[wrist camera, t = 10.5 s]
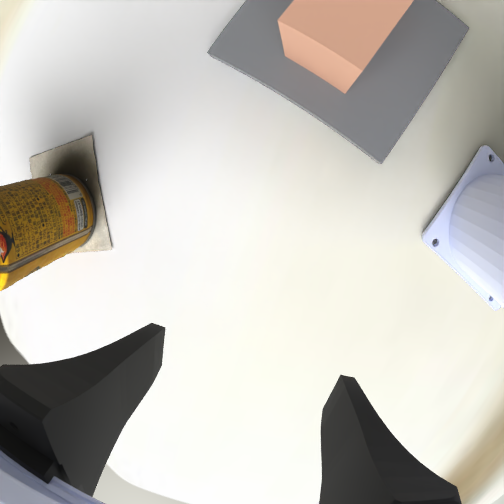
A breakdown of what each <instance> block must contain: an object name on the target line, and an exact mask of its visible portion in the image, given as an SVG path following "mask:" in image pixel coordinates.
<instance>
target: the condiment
mask: <svg viewBox="0 0 504 504" xmlns="http://www.w3.org/2000/svg"><path fill="white" fill-rule="evenodd" d="M30 169H31V173H32V179H30V180H25V181H21V182H16V183H12V184H8V185H4V186H0V291H2V290H4V289H6V288H8V287H9V286H11V285H13V284H14V283H15V282H17V281H19V280H21V279H22V278H24V277H26V276H28V275H29V274H31V273H33V272H35V271H36V270H38V269H41V268H42V267H44V266H46V265H48V264H50V263H52V262H53V261H55V260H57V259H59V258H61V257H64V256H65V255H66V254H69V253H79V252H90V251H104V250H112V247H111V243H110V237H109V232H108V226H107V222H106V216H105V210H104V206H103V200H102V196H101V190H100V187H99V183H98V173H97V166H96V159H95V154H94V150H93V140H92V135H90V136H87V137H84V138H82V139H79V140H76V141H73V142H70V143H68V144H65V145H62V146H59V147H57V148H55V149H51V150H49V151H46V152H43V153H41V154H39V155H36V156H33V157H31V158H30ZM50 174H51V175H50ZM49 175H50V176H49ZM86 179H87V181H86Z"/></svg>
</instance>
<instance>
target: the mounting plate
mask: <svg viewBox="0 0 504 504" xmlns="http://www.w3.org/2000/svg"><path fill="white" fill-rule="evenodd" d="M293 1H294V0H246V2H245V3H244V4H243V5H242V6H241V8H240V9H239V10H238V12H237V13H236V14H235V15H234V17H233V18H232V19H231V21H230V22H229V23H228V24H227V26H226V27H225V28H224V30H223V31H222V33H221V34H220V35H219V37H218V38H217V39H216V41H215V42H214V44H213V45H212V46H211V48H210V49H209V51H208V52H207V53H208V54H209V55H210V56H211V57H213V58H215V59H217V60H219V61H221V62H223V63H225V64H227V65H228V66H230V67H232V68H234V69H236V70H238V71H240V72H241V73H243V74H245V75H247V76H249V77H250V78H252V79H254V80H256V81H257V82H259V83H261V84H263V85H264V86H266V87H268V88H269V89H271V90H273V91H274V92H276V93H278V94H279V95H281V96H283V97H284V98H286V99H287V100H289V101H291V102H292V103H294V104H295V105H297V106H299V107H300V108H302V109H303V110H305V111H306V112H308V113H309V114H311V115H312V116H314V117H315V118H317V119H318V120H320V121H321V122H323V123H324V124H326V125H327V126H328V127H330V128H331V129H333V130H334V131H336V132H337V133H338V134H340V135H341V136H343V137H344V138H345V139H347V140H348V141H349V142H351V143H352V144H353V145H355V146H356V147H357V148H359V149H360V150H361V151H363V152H364V153H365V154H367V155H368V156H369V157H371V158H372V159H373V160H374V161H376V162H377V163H380V164H382V163H383V161H384V160H385V158H386V157H387V155H388V154H389V153H390V151H391V150H392V148H393V147H394V145H395V144H396V142H397V141H398V139H399V138H400V137H401V135H402V134H403V132H404V131H405V129H406V128H407V126H408V125H409V123H410V122H411V120H412V119H413V117H414V116H415V114H416V113H417V111H418V110H419V108H420V107H421V105H422V104H423V102H424V100H425V99H426V97H427V96H428V94H429V93H430V91H431V90H432V88H433V86H434V85H435V83H436V82H437V80H438V79H439V77H440V75H441V74H442V72H443V71H444V69H445V67H446V66H447V64H448V63H449V61H450V59H451V58H452V56H453V54H454V53H455V51H456V50H457V48H458V46H459V45H460V43H461V41H462V40H463V38H464V36H465V34H466V33H467V31H468V29H469V27H468V26H467V25H466V24H464V23H463V22H462V21H461V20H460V19H459V18H457V17H456V16H455V15H454V14H453V13H451V12H450V11H449V10H448V9H446V8H445V7H444V6H443V5H441V4H440V3H439V2H437V1H436V0H414V1H413V2H412V4H411V5H410V6H409V8H408V9H407V10H406V12H405V13H404V14H403V16H402V17H401V19H400V20H399V21H398V23H397V24H396V25H395V27H394V28H393V30H392V31H391V32H390V34H389V35H388V37H387V38H386V39H385V41H384V42H383V43H382V45H381V46H380V48H379V49H378V50H377V52H376V53H375V55H374V56H373V57H372V59H371V60H370V62H369V63H368V64H367V66H366V67H365V69H364V70H363V71H362V73H361V74H360V75H359V76H358V78H357V79H356V80H355V82H354V83H353V84H352V86H351V87H350V88H349V89H348V91H347V92H346V93H345V94H344V93H343V92H341V91H340V90H338V89H337V88H336V87H334V86H333V85H331V84H330V83H328V82H326V81H325V80H323V79H322V78H320V77H319V76H317V75H316V74H314V73H312V72H311V71H309V70H308V69H306V68H304V67H303V66H301V65H299V64H298V63H296V62H294V61H292V60H291V59H289V58H287V57H286V56H285V54H284V49H283V44H282V39H281V34H280V29H279V25H278V19H279V18H280V16H281V15H282V14H283V13H284V12H285V10H286V9H287V8H288V7H289V5H290V4H291V3H292V2H293Z"/></svg>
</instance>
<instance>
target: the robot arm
mask: <svg viewBox="0 0 504 504" xmlns="http://www.w3.org/2000/svg"><path fill="white" fill-rule="evenodd" d="M489 155H491V157H492V160H491V161H489ZM434 239H437V242H436V244H435V245H432V241H433V240H434ZM422 241H423V242H424V243H425V244H426V245H427V246H428V247H429V248H430V249H432V250H433V251H434V252H435V253H436V254H437V255H438V256H439V257H440V258H441V259H443V260H444V261H445V262H446V263H447V264H448V265H449V266H450V267H451V268H452V269H453V270H454V271H455V272H456V273H457V274H458V275H460V276H461V277H462V278H463V279H464V280H465V281H466V282H467V283H468V284H469V285H470V286H471V287H472V288H473V289H474V290H475V291H476V292H477V293H478V294H479V295H480V296H481V297H482V298H483V299H484V300H485V301H486V303H487V304H488V305H489V306H490V307H491V308H492V309H493V310H498V309H499V308H500V307H501V306H502V307H503V308H504V163H503V162H502V161H501V160H500V158H499V157H498V156H497V155H496V154H495V153H494V151H493V150H492V149H491V148H490V147H489V146H486V145H483V146H481V147H480V148H479V150H478V152H477V153H476V155H475V157H474V158H473V160H472V162H471V163H470V165H469V166H468V168H467V170H466V171H465V173H464V174H463V176H462V177H461V179H460V180H459V182H458V184H457V185H456V187H455V188H454V190H453V191H452V193H451V194H450V196H449V197H448V198H447V200H446V201H445V203H444V204H443V206H442V207H441V209H440V210H439V211H438V213H437V214H436V216H435V217H434V219H433V220H432V221H431V223H430V224H429V225H428V227H427V228H426V230H425V231H424V232H423V234H422ZM490 296H491V298H490V299H489V297H490ZM164 336H165V327H162V326H159V325H156V324H154V323H151V324H149V325H147V326H145V327H143V328H141V329H139V330H137V331H135V332H133V333H131V334H130V335H128V336H126V337H124V338H122V339H120V340H118V341H116V342H114V343H111V344H109V345H107V346H104V347H102V348H100V349H97V350H95V351H92V352H89V353H87V354H83V355H80V356H77V357H73V358H69V359H64V360H60V361H55V362H49V363H41V364H30V365H2V366H1V367H0V504H105V503H103V502H101V501H99V500H97V499H95V498H93V497H92V496H93V493H94V491H95V488H96V486H97V483H98V481H99V478H100V476H101V474H102V471H103V469H104V467H105V464H106V462H107V460H108V458H109V456H110V453H111V451H112V449H113V447H114V445H115V443H116V441H117V439H118V437H119V435H120V433H121V431H122V429H123V427H124V426H125V424H126V422H127V421H128V419H129V418H130V416H131V415H132V413H133V412H134V411H135V409H136V408H137V406H138V405H139V403H140V402H141V400H142V399H143V397H144V396H145V394H146V393H147V392H148V390H149V389H150V387H151V386H152V384H153V382H154V380H155V378H156V376H157V374H158V372H159V370H160V368H161V366H162V357H163V346H164ZM321 456H322V484H321V493H320V501H319V504H461V500H460V496H459V492H458V489H457V487H456V486H454V485H453V484H451V483H449V482H448V481H446V480H444V479H443V478H441V477H439V476H438V475H436V474H435V473H433V472H432V471H431V470H429V469H428V468H427V467H425V466H424V465H423V464H422V463H420V462H419V461H418V460H417V459H416V458H415V457H414V456H413V455H412V454H410V453H409V452H408V451H407V450H406V449H405V448H404V447H403V446H402V444H401V443H400V442H399V441H398V440H397V439H396V438H395V437H394V435H393V434H392V433H391V432H390V431H389V429H388V428H387V427H386V425H385V424H384V423H383V421H382V420H381V418H380V417H379V416H378V414H377V413H376V411H375V410H374V408H373V407H372V405H371V403H370V402H369V400H368V399H367V397H366V395H365V394H364V392H363V390H362V389H361V387H360V386H359V384H358V382H357V381H356V379H355V378H354V377H348V376H343V375H340V377H339V379H338V381H337V383H336V385H335V387H334V389H333V391H332V393H331V394H330V396H329V398H328V400H327V402H326V404H325V406H324V407H323V411H322V420H321Z"/></svg>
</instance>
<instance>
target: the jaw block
mask: <svg viewBox="0 0 504 504" xmlns="http://www.w3.org/2000/svg"><path fill="white" fill-rule="evenodd" d="M413 1H414V0H294V1H293V2H292V3H291V4H290V5H289V7H288V8H287V9H286V10H285V12H284V13H283V14H282V15H281V16H280V18H279V19H278V25H279V29H280V34H281V39H282V44H283V49H284V54H285V56H286V57H287V58H289V59H291V60H292V61H294V62H296V63H298V64H299V65H301V66H303V67H304V68H306V69H308V70H309V71H311V72H312V73H314V74H316V75H317V76H319V77H320V78H322V79H323V80H325V81H326V82H328V83H330V84H331V85H333V86H334V87H336V88H337V89H338V90H340V91H341V92H343V93H344V94H345V93H346V92H347V91H348V89H349V88H350V87H351V86H352V84H353V83H354V82H355V80H356V79H357V78H358V76H359V75H360V74H361V73H362V71H363V70H364V69H365V67H366V66H367V64H368V63H369V62H370V60H371V59H372V57H373V56H374V55H375V53H376V52H377V50H378V49H379V48H380V46H381V45H382V43H383V42H384V41H385V39H386V38H387V37H388V35H389V34H390V32H391V31H392V30H393V28H394V27H395V25H396V24H397V23H398V21H399V20H400V19H401V17H402V16H403V14H404V13H405V12H406V10H407V9H408V8H409V6H410V5H411V4H412V2H413Z"/></svg>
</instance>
